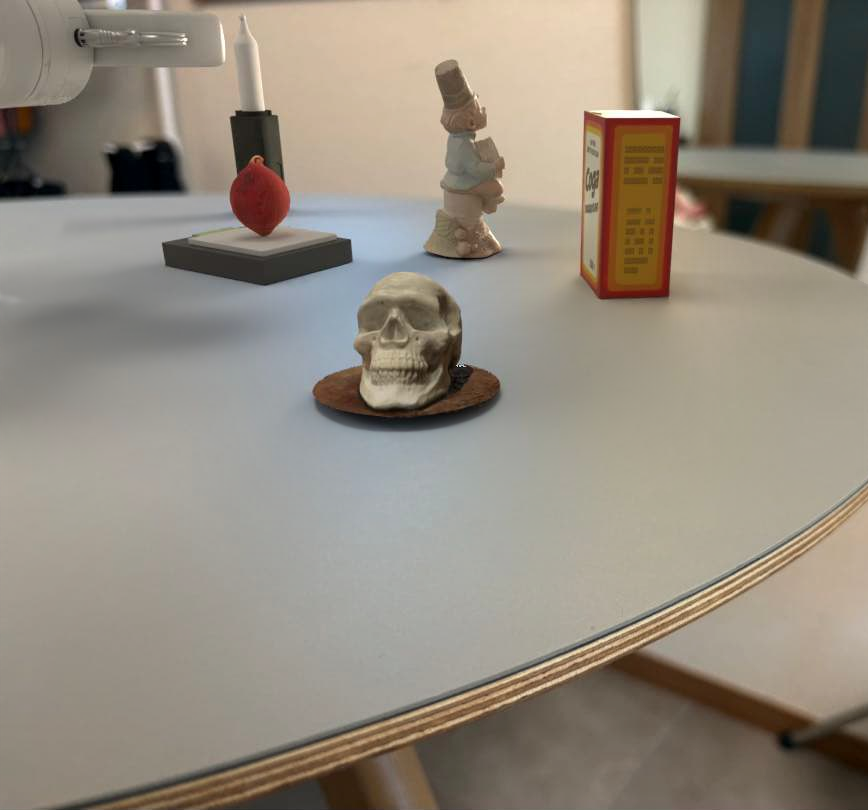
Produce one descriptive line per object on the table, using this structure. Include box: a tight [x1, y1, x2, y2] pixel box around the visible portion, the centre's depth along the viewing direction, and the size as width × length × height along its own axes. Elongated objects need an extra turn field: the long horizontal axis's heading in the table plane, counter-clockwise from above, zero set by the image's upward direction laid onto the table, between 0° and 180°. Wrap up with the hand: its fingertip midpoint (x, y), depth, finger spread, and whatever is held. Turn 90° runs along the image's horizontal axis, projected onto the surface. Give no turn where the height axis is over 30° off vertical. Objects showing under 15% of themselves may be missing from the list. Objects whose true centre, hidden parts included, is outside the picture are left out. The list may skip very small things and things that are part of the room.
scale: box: [161, 224, 354, 286], centre depth 89 cm, size 15×12×3 cm
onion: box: [229, 155, 291, 236], centre depth 86 cm, size 6×6×8 cm
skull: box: [312, 271, 501, 419], centre depth 55 cm, size 12×10×10 cm
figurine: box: [422, 58, 507, 259], centre depth 91 cm, size 9×8×20 cm
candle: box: [229, 13, 286, 184], centre depth 112 cm, size 5×5×25 cm
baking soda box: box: [579, 109, 682, 300], centre depth 79 cm, size 10×6×16 cm
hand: (155, 40), depth 70 cm, fingers open, 8 cm apart
